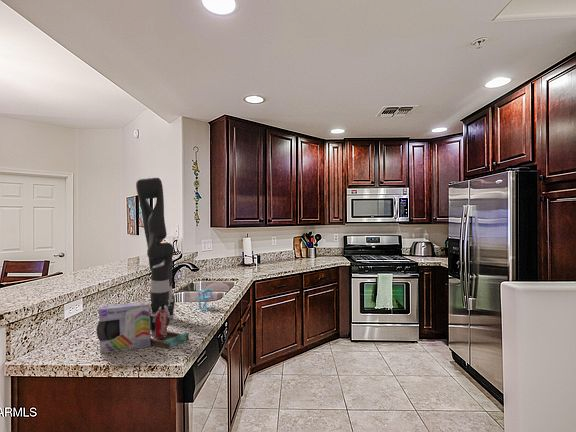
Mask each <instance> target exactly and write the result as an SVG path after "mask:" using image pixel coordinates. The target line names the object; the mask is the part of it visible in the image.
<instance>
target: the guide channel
mask: <svg viewBox="0 0 576 432" xmlns="http://www.w3.org/2000/svg"><path fill="white" fill-rule="evenodd" d="M164 337H166V338H168V339H165V340H162V339H158V338H154V337H151V346H154V347H159V348H163V349H165V350H166V349H170V347H171V348H172V347H175V346H178V345H180V344H183V343H185V342H187V340H188V341H189V340H190V333H189V332H187V331H186V332H183V333H179V332H175V331H171V330H167V335H166V336H164ZM184 341H185V342H184ZM182 342H183V343H182ZM177 344H178V345H177Z"/></svg>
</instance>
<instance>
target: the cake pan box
mask: <svg viewBox="0 0 576 432" xmlns="http://www.w3.org/2000/svg"><path fill="white" fill-rule="evenodd" d="M150 306H151V304H150V301H142V302H129V303H128V302H127V303H117V304H109V305H107V304H106V305H101V306H100V307H99V308H98V323H97V326H96V336H97V339H98V341H99V354H101V353H109V352H110V353H111V352H117V351H119V352H120V351H126V350H133V349H134V350H135V349H140V348H141V349H142V348H146V347H147V348H148V347H151V346H152V345H151V338H152V336H151V330H150V313H151V312H150Z"/></svg>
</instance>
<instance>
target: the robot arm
mask: <svg viewBox="0 0 576 432" xmlns="http://www.w3.org/2000/svg"><path fill="white" fill-rule="evenodd" d="M162 183H163V182H162V179H160V177H149V178H140V179H137V180H136V184H135V186H136V187H135V188H136V193H137V197H138V198H137V199H138V201H139V205H140V210H141V216H142V223H143V229H144V231H143V232H144V236H145V240H146V246H147V250H146V254H147V258H148V265H149V270H150V271H151V272H150V273H151V280H150V331H155V319H156V317H158V313H159V312H160V310H164V309H166V311H167V327H168V326H169V324H170V321H171V320H172V319H174V312H175V310H174V309H175V301H174V299H173V287H172V286H173V285H172V284H173V263H174V262H173V257H174V253H175V248H174V246H173V244H172V243H171V242H162V241H163V240H165V239H166V237H167V228H166V227H167V226H166V222H165V202H164V201H165V200H164V197H165V196H164V186H163V184H162ZM148 199H149V200H150V199H155V200H156V201H155V205H154V207H153V208H152V206H151V205H150V203H149V202H148ZM153 312H154V313H155V315H154V314H153ZM152 318H153V319H152Z"/></svg>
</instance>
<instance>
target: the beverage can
mask: <svg viewBox="0 0 576 432" xmlns="http://www.w3.org/2000/svg"><path fill="white" fill-rule="evenodd" d="M153 314H154V315H155V313H154V312H153ZM152 319H153V318H152ZM150 331H151V330H150ZM167 331H168V326H167V311H166V309H164V310H160V312H159V313H158V317H156V319H155V331H151V338H153V339H162V338H164V337H165V336H166V335H167Z"/></svg>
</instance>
